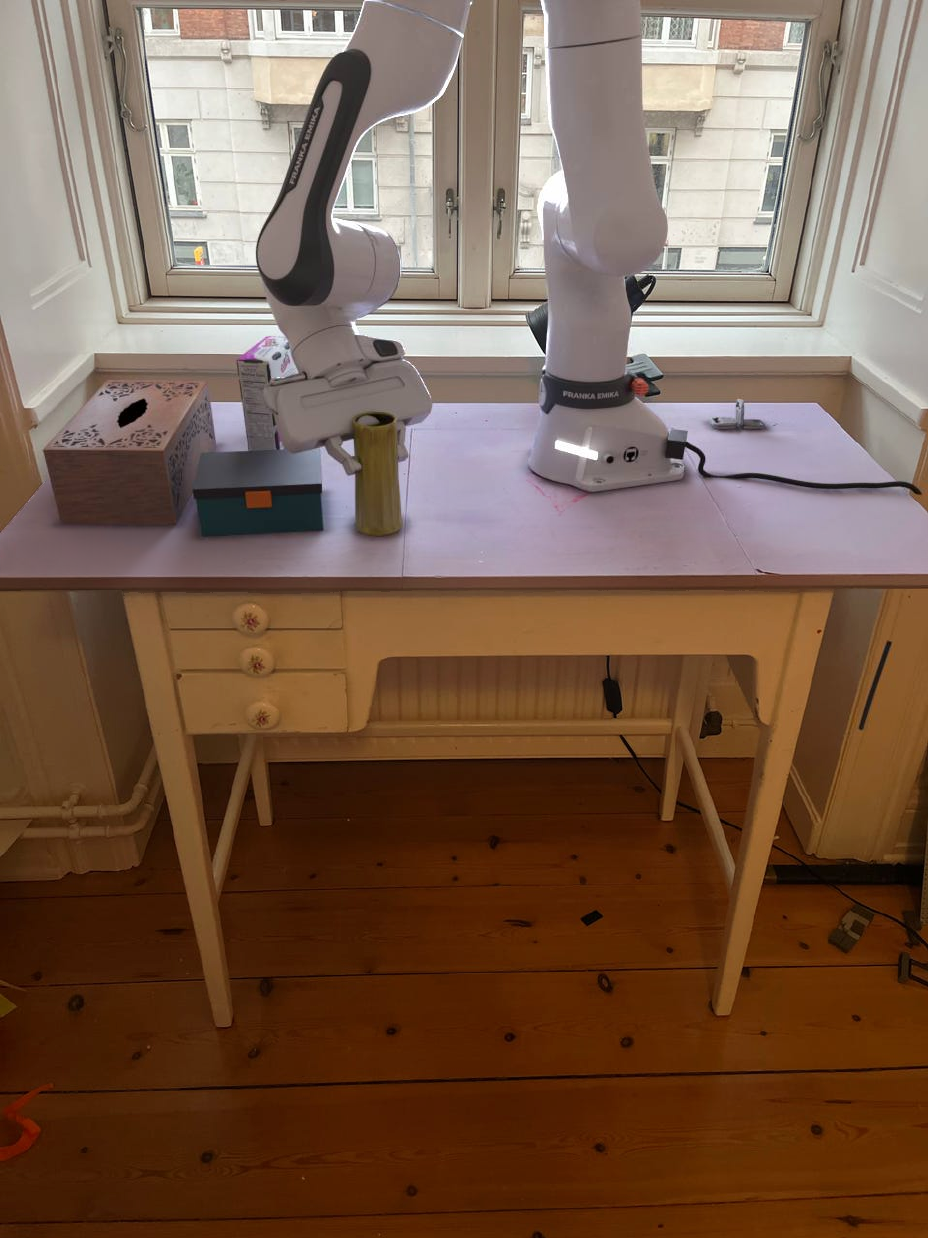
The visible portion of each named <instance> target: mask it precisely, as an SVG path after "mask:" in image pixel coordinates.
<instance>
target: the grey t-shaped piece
mask: <svg viewBox="0 0 928 1238" xmlns="http://www.w3.org/2000/svg"><path fill="white" fill-rule="evenodd" d="M745 403H746V402H745V400H744V399H742V398H737V399H736V402H735V409H734V410H735V411H734V414H735V415H734V417H735V418H734V417H731V416H715V417H711V418H710V419H709V424H710V425H711V426H712V427H713V428H714V429H719V430H733V429H736V428H737V427H738V426H739V427H741V428H742V429H746V430H747V429H749V430H751V429H752V430H753V429H754V430H755V429H756V430H757V429H758V430H759V429H763V428H765V427H766V424H765V423H764V422H763V421H762V420H761V419H754V418H753V419H751V418H750V419H745ZM757 423H758V424H757Z"/></svg>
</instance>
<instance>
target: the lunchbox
mask: <svg viewBox="0 0 928 1238" xmlns="http://www.w3.org/2000/svg"><path fill="white" fill-rule="evenodd" d="M321 452H322V451H321V447H320V448H316V449H312V450H308V451H304V452H300V453H295V454H293V453H291V452H289V451H288V450H286V449H284V450H259V451H249V450H237V451H235V450H234V451H214V452H208V453H201V455H200V460H199V464H198V468H197V472H196V477H195V481H194V485H193V489H192V490H193V493H192V496H193V500H195V503H196V509H197V517H198V521H199V528H200V534H201V537H216V536H236V535H237V536H238V535H254V534H255V535H256V534H257V535H258V534H273V533H275V534H276V533H294V532H313V531H316V532H317V531H324V512H323V511H324V510H323V476H322V475H323V474H322V453H321Z"/></svg>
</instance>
